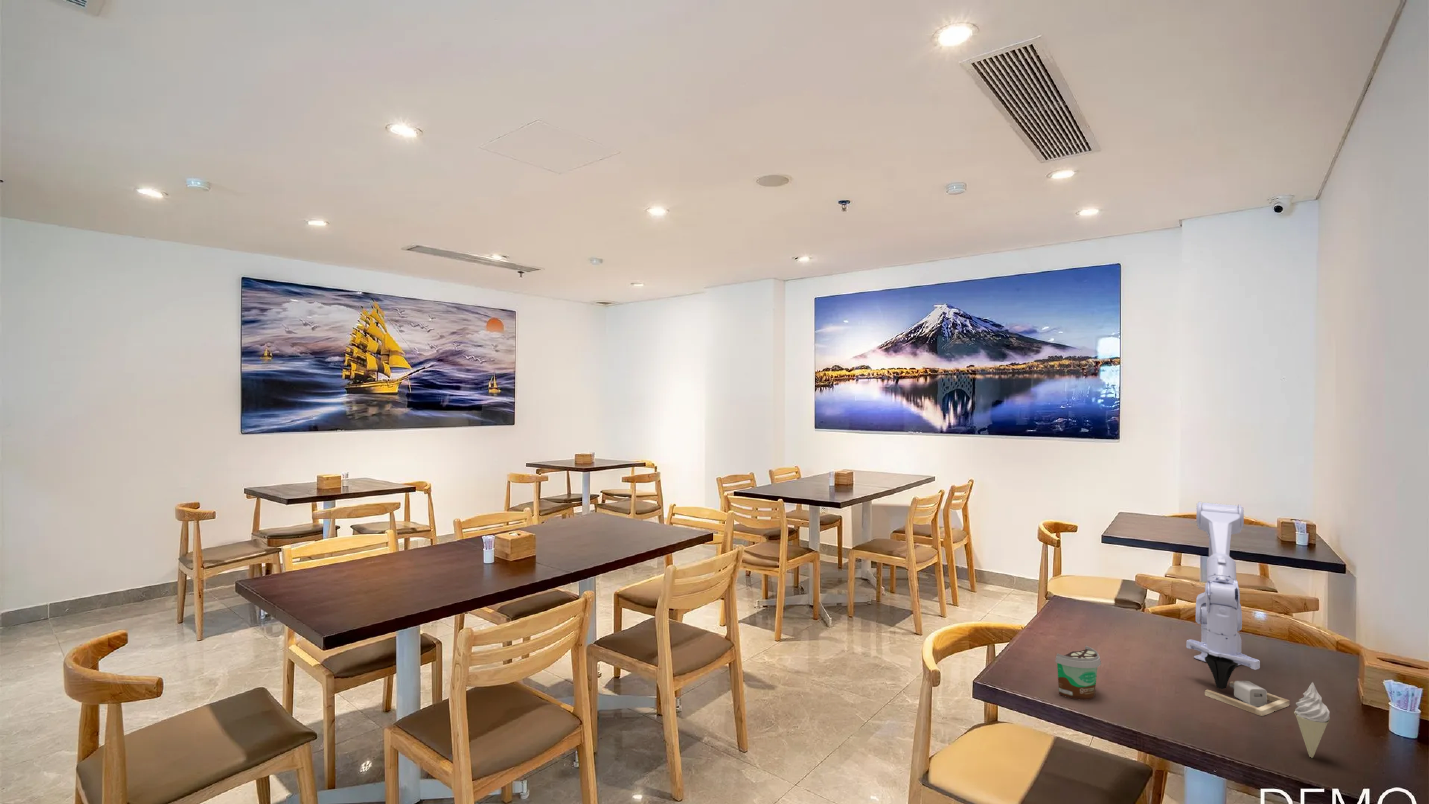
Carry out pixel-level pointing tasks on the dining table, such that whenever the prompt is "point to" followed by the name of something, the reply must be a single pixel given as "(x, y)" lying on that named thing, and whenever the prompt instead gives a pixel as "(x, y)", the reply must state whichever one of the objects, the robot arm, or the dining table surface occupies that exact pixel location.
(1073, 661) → the food container
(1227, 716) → the dining table surface
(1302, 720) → the ice cream cone
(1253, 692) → the usb wall charger
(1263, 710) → the charger bay
